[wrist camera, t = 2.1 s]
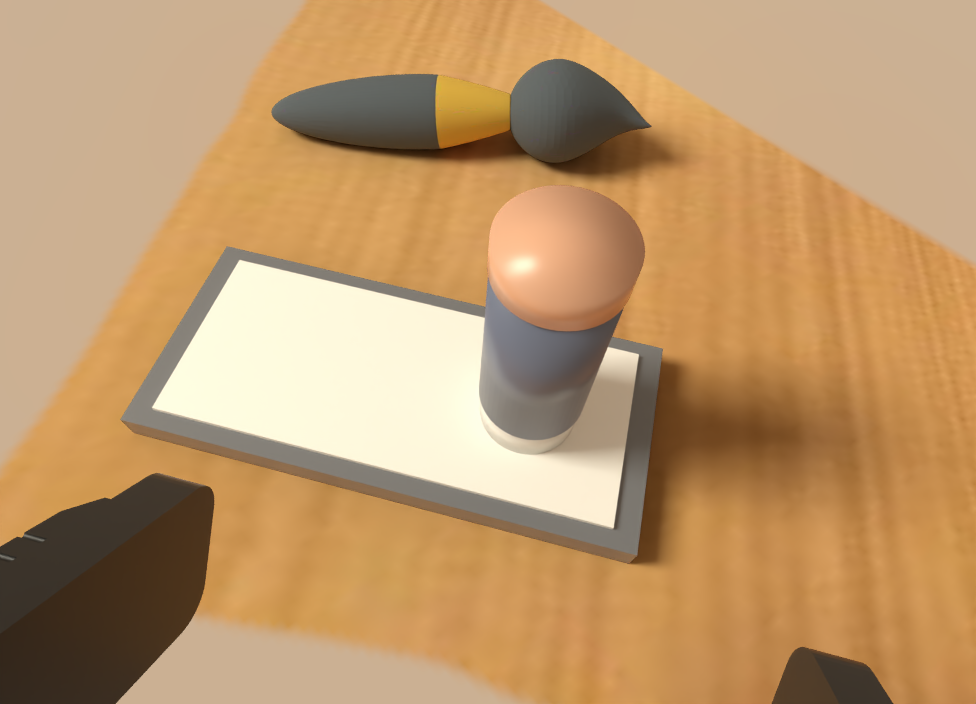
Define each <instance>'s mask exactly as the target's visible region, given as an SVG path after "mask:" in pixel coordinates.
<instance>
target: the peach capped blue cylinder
mask: <svg viewBox="0 0 976 704" xmlns="http://www.w3.org/2000/svg"><path fill="white" fill-rule="evenodd" d="M644 257H645V246H644V241H643V237H642V234H641V232H640V229H639V227H638V226H637V224H636V223H635V221H634V220H633V218H632V217H631V216H630V215H629V214H628V213H627V212H626V211H625V210H624V209H623V208H622V207H621V206H619V205H618V204H617V203H615V202H614V201H612V200H611V199H609V198H607V197H605V196H603V195H601V194H599V193H596V192H594V191H591V190H588V189H584V188H580V187H574V186H565V185H552V186H543V187H538V188H534V189H531V190H528V191H525V192H523V193H521V194H519V195H517V196H515V197H514V198H512V199H511V200H509V201H508V202H507V203H506V204H505V205H504V206H503V207H502V208H501V209H500V210H499V212H498V213H497V215H496V216H495V218H494V220H493V223H492V226H491V230H490V238H489V251H488V264H487V271H488V285H487V297H486V309H485V321H484V333H483V345H482V357H481V369H480V381H479V397H480V416H481V420H482V423H483V426H484V428H485V429H486V431H487V433H488V434H489V435H490V437H491V438H492V439H493V440H494V441H495V442H497V443H498V444H499V445H501V446H502V447H504V448H506V449H508V450H510V451H513V452H516V453H520V454H529V455H532V454H540V453H545V452H548V451H550V450H552V449H554V448H556V447H557V446H559V445H560V444H561V443H563V442H564V441H565V439H566V438H567V437H568V436H569V434H570V432H571V430H572V428H573V426H574V423H575V422H576V421H577V420H578V418H579V417H580V415H581V413H582V410H583V408H584V405H585V403H586V400H587V398H588V395H589V393H590V390H591V388H592V385H593V383H594V380H595V378H596V375H597V373H598V370H599V368H600V366H601V363H602V361H603V358H604V356H605V353H606V351H607V348H608V346H609V343H610V341H611V338H612V336H613V333H614V331H615V328H616V326H617V323H618V321H619V318H620V316H621V313H622V311H623V308H624V306H625V305H626V303H627V302H628V300H629V298H630V296H631V293H632V291H633V288H634V286H635V283H636V281H637V278H638V276H639V274H640V271H641V269H642V266H643V262H644Z"/></svg>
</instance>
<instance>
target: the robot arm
mask: <svg viewBox="0 0 976 704" xmlns="http://www.w3.org/2000/svg"><path fill="white" fill-rule="evenodd" d="M213 510H214V494H213V491H212V489H211V488H210V487H208V486H205V485H201V484H197V483H193V482H190V481H186V480H182V479H178V478H175V477H171V476H167V475H163V474H160V473H155V474H152V475H150V476H148V477H146V478H144V479H143V480H141V481H140V482H138V483H136V484H135V485H133V486H132V487H130V488H128V489H127V490H125V491H124V492H122V493H120V494H119V495H117V496H115V497H114V498H112V499H108V498H102V499H99V500H96V501H93V502H89V503H86V504H83V505H80V506H77V507H73V508H70V509H67V510H64V511H61V512H59V513H57V514H55V515H54V516H52V517H50V518H49V519H47V520H45V521H43V522H42V523H40V524H38V525H37V526H35V527H33V528H31V529H30V530H28V531H26V532H25V534H24V536H23V537H22V538H20V537H16V538H14V539H13V540H11V541H9V542H7V543H6V544H4V545H2V546H1V547H0V704H116V703H117V702H118V700H119V699H120V698H121V697H122V696H123V695H124V694H125V693H126V692H127V691H128V690H129V689H130V688H131V687H132V686H133V684H134V683H135V682H136V681H137V680H138V679H139V678H140V677H141V676H142V675H143V674H144V673H145V672H146V671H147V669H148V668H149V667H150V666H151V665H152V664H153V663H154V662H155V661H156V660H157V659H158V658H159V656H160V655H162V653H163V652H164V651H165V650H166V649H167V648H168V647H169V646H170V645H171V644H172V643H173V642H174V641H175V639H176V638H177V637H178V636H179V635H180V634H181V633H182V632H183V631H184V629H185V628H186V627H187V625H188V624H189V622H190V621H191V619H192V617H193V616H194V614H195V612H196V610H197V607H198V605H199V603H200V600H201V597H202V594H203V590H204V586H205V579H206V570H207V562H208V553H209V545H210V536H211V527H212V519H213ZM772 704H893V703H892V701H891V700H890V698H889V697H888V695H887V693H886V692H885V690H884V689H883V687H882V686H881V684H880V683H879V681H878V679H877V678H876V676H875V675H874V673H873V672H872V670H871V669H870V668H869V667H868V666H867V665H866V664H864V663H861V662H858V661H854V660H850V659H846V658H843V657H839V656H835V655H831V654H828V653H824V652H820V651H816V650H813V649H809V648H805V647H800V648H798V649H796V650H795V651H794V652H793V653H792V655H791V656H790V658H789V660H788V663H787V665H786V668H785V670H784V673H783V676H782V678H781V681H780V683H779V686H778V689H777V691H776V694H775V697H774V699H773V702H772Z"/></svg>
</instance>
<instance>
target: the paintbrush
mask: <svg viewBox="0 0 976 704" xmlns="http://www.w3.org/2000/svg"><path fill="white" fill-rule="evenodd" d="M272 116H273V117H274V119H275V120H276V121H278V122H279V123H280V124H282V125H283V126H285V127H287V128H289V129H292V130H294V131H297V132H300V133H302V134H306V135H309V136H313V137H316V138H321V139H325V140H330V141H335V142H340V143H346V144H353V145H359V146H368V147H377V148H391V149H440V148H447V147H451V146H456V145H460V144H464V143H468V142H472V141H475V140H479V139H483V138H486V137H490V136H493V135H496V134H499V133H503V132H506V131H509V130H511V132H512V134H513V136H514V138H515V140H516V141H517V143H518V144H519V145H520V146H521V147H522V149H523V150H525V151H526V152H527V153H528V154H530V155H531V156H533V157H534V158H536V159H538V160H541V161H544V162H550V163H560V162H565V161H569V160H572V159H574V158H577V157H579V156H581V155H583V154H585V153H587V152H589V151H590V150H592V149H594V148H595V147H597V146H599V145H600V144H602V143H604V142H605V141H607V140H609V139H610V138H612V137H614V136H616V135H619V134H621V133H624V132H628V131H632V130H637V129H644V128H649V127H652V126H651V125H649V124H648V123H647V122H646V121H645V120H644V119H643V118H642V116H641V115H640V114H639V113H638V112H637V110H636V109H635V108H634V107H633V106H632V104H631V103H630V102H629V101H628V100H627V99H626V98H625V97H624V96H623V95H622V94H621V93H620V92H619V91H618V90H617V89H616V88H615V87H614V86H613V85H611V84H610V83H609V82H608V81H606V80H605V79H604V78H602V77H601V76H599V75H598V74H596V73H595V72H593V71H591V70H590V69H588V68H586V67H584V66H583V65H580V64H578V63H576V62H573V61H569V60H565V59H553V60H547V61H545V62H542V63H540V64H538V65H536V66H534V67H533V68H531V69H530V70H528V71H527V72H526V73H525V74H524V75H523V76H522V77H521V78H520V80H519V81H518V82H517V84H516V85H515V87H514V89H513V91H512V93H511V95H510V94H509V93H506V92H502V91H499V90H496V89H493V88H490V87H486V86H483V85H479V84H475V83H472V82H468V81H464V80H460V79H456V78H451V77H447V76H442V75H433V74H404V75H386V76H373V77H365V78H358V79H351V80H345V81H339V82H334V83H329V84H325V85H320V86H316V87H313V88H309V89H305V90H302V91H299V92H297V93H294V94H292V95H289V96H287V97H285V98H284V99H282V100H280V101H279V102H278V103H276V104H275V106H274V107H273V108H272Z"/></svg>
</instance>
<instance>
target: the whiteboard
mask: <svg viewBox="0 0 976 704" xmlns="http://www.w3.org/2000/svg"><path fill="white" fill-rule="evenodd" d="M485 309H486V307H483V306H479V305H475V304H470V303H466V302H462V301H457V300H453V299H449V298H445V297H440V296H436V295H432V294H428V293H423V292H419V291H415V290H411V289H406V288H402V287H398V286H394V285H389V284H385V283H381V282H377V281H372V280H368V279H364V278H360V277H355V276H351V275H347V274H343V273H338V272H334V271H330V270H326V269H321V268H317V267H313V266H308V265H304V264H300V263H296V262H291V261H287V260H283V259H279V258H274V257H270V256H266V255H262V254H257V253H253V252H249V251H245V250H240V249H236V248H232V247H228V246H227V247H226V249H225V250H224V252H223V254H222V255H221V257H220V259H219V260H218V262H217V263H216V265H215V267H214V268H213V270H212V272H211V273H210V275H209V276H208V278H207V280H206V281H205V283H204V285H203V286H202V288H201V289H200V291H199V293H198V294H197V296H196V298H195V299H194V301H193V302H192V304H191V306H190V307H189V309H188V311H187V312H186V314H185V315H184V317H183V319H182V320H181V322H180V324H179V325H178V327H177V328H176V330H175V332H174V333H173V335H172V337H171V338H170V340H169V341H168V343H167V345H166V346H165V348H164V350H163V351H162V353H161V354H160V356H159V358H158V359H157V361H156V363H155V364H154V366H153V367H152V369H151V371H150V372H149V374H148V376H147V377H146V379H145V380H144V382H143V384H142V385H141V387H140V389H139V390H138V392H137V393H136V395H135V397H134V398H133V400H132V402H131V403H130V405H129V406H128V408H127V410H126V411H125V413H124V415H123V416H122V418H121V419H120V420H121V421H122V422H123V423H124V424H125V425H126V426H127V427H128V428H129V429H130V430H131V431H132V432H133V433H137V434H141V435H145V436H148V437H152V438H156V439H160V440H163V441H167V442H171V443H175V444H179V445H182V446H186V447H190V448H194V449H198V450H201V451H205V452H209V453H213V454H216V455H220V456H224V457H228V458H232V459H235V460H239V461H243V462H247V463H250V464H254V465H258V466H262V467H266V468H269V469H273V470H277V471H281V472H284V473H288V474H292V475H296V476H300V477H303V478H307V479H311V480H315V481H319V482H322V483H326V484H330V485H334V486H337V487H341V488H345V489H349V490H353V491H356V492H360V493H364V494H368V495H371V496H375V497H379V498H383V499H387V500H390V501H394V502H398V503H402V504H406V505H409V506H413V507H417V508H421V509H424V510H428V511H432V512H436V513H440V514H443V515H447V516H451V517H455V518H458V519H462V520H466V521H470V522H474V523H477V524H481V525H485V526H489V527H492V528H496V529H500V530H504V531H508V532H511V533H515V534H519V535H523V536H527V537H530V538H534V539H538V540H542V541H545V542H549V543H553V544H557V545H561V546H564V547H568V548H572V549H576V550H579V551H583V552H587V553H591V554H595V555H598V556H602V557H606V558H610V559H613V560H617V561H621V562H625V563H630V562H631V561H632V560H633V559H634V558H635V557H636V556H637V553H638V545H639V537H640V529H641V521H642V513H643V505H644V497H645V488H646V480H647V472H648V464H649V456H650V448H651V440H652V432H653V424H654V416H655V408H656V400H657V392H658V383H659V375H660V367H661V359H662V351H663V349H662V348H658V347H653V346H649V345H645V344H641V343H636V342H632V341H628V340H624V339H619V338H615V337H612V338H611V341H610V343H609V346H608V348H607V351H606V353H605V356H604V358H603V361H602V363H601V366H600V368H599V370H598V373H597V375H596V378H595V380H594V383H593V385H592V388H591V390H590V393H589V395H588V398H587V400H586V403H585V405H584V408H583V410H582V413H581V415H580V417H579V418H578V420H577V421H576V422H575V423H574V426H573V428H572V430H571V432H570V434H569V436H568V437H567V438H566V439H565V441H564V442H563V443H561V444H560V445H559V446H557V447H556V448H554V449H552V450H550V451H548V452H545V453H540V454H532V455H529V454H520V453H516V452H513V451H510V450H508V449H506V448H504V447H502V446H501V445H499V444H498V443H497V442H495V441H494V440H493V439H492V438H491V437H490V435H489V434H488V433H487V431H486V429H485V428H484V426H483V423H482V420H481V416H480V397H479V381H480V369H481V357H482V345H483V333H484V321H485Z"/></svg>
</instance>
